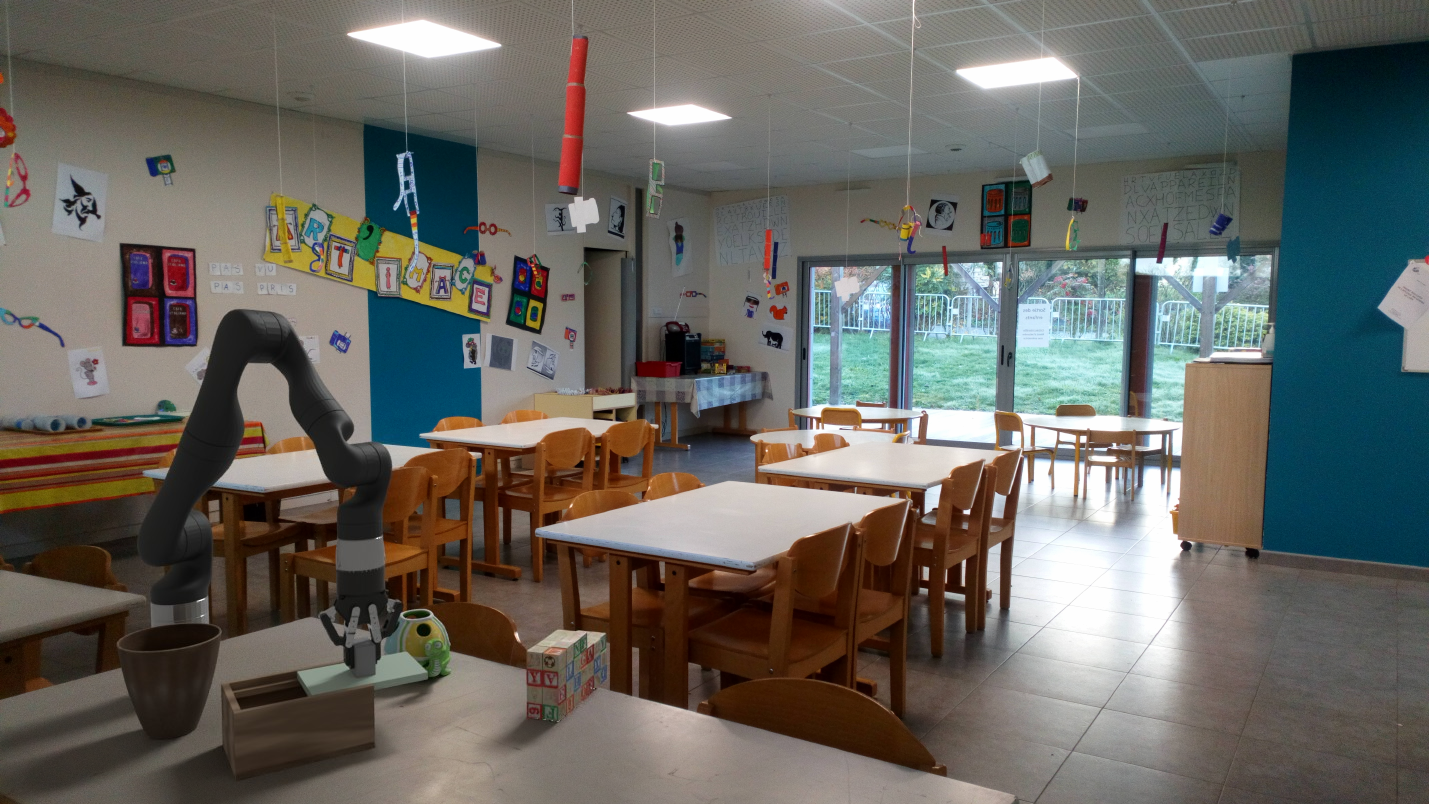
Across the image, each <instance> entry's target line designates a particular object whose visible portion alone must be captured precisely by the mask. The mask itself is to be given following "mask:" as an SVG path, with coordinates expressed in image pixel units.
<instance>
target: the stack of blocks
mask: <svg viewBox="0 0 1429 804" xmlns="http://www.w3.org/2000/svg"><path fill="white" fill-rule="evenodd" d="M607 661H608V649H607V633H606V632H599V631H588V630H586V631H585V630H576V631H575V630H567V629H556V630H555V631H553V632H552V633H550V635H548V636H546V637H545V638H543V639H542V640H541V641H539V642H538V643H536V644H535V645H533V646H532V647H530V648H529V649H528V650H526V669H525V673H526V674H525V675H526V679H525V680H526V682H525V683H526V718H527V717H528V718H527V719H530V718H538V719H546V720H553V721H559V720H561V719H562V718H563V717H564V716H565V715H567V714H568V713H569V712H570V713H571V712H572V711H573V710H575V709H576V708H577V707H578V706H580V705H581V703H582V702H583V701H584V700H586V699H587V697H588V696H589V695H590V694H591V693H592V692H594V691H595V690H596V689H597V688H599V686H601V685H602V684H603V683H604V682H605V681H606V680H607V678H608V672H607V671H608V669H607V668H608V662H607ZM591 687H592V689H591ZM593 688H596V689H593ZM575 707H576V708H575ZM574 708H575V709H574ZM570 713H569V714H570ZM569 714H568V715H569ZM568 715H567V716H568ZM565 717H566V716H565ZM565 717H564V718H565ZM564 718H563V719H564ZM563 719H562V720H563ZM562 720H561V721H562ZM559 722H560V721H559Z"/></svg>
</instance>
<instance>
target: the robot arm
mask: <svg viewBox="0 0 1429 804" xmlns="http://www.w3.org/2000/svg"><path fill="white" fill-rule="evenodd" d="M248 364H271V365H272V366H273V367H274V368H275V369H277V371H278V372H280V373H281V375H282V376H283V377H284V378H285V380H286V381H287V385H288V404H289V408H290V412H291V413H292V416H293V417H294V419H295V421H296V423H298V425H299V427H301V429H302V430H303V432H304V433H305V434H306V435H307V437H308V438H309V439H310V440H311V442H312V443H313V446H314V448H315V451H316V455H317V457H318V459H319V462H320V466H321V469H322V471H323V474H324V476H325V477H326V479H327V480H328V481H329V482H330V483H332V484H333V485H335V486H336V487H338V488H341V489H352V488H355V491H354V494H353V495H352V497H350V498H349V499H347V500H345V501H343V502H342V503H340V504H339V506H338V507H337V510H336V512H337V513H336V532H337V533H336V534H337V535H336V538H337V539H336V548H335V574H336V575H335V576H336V581H335V583H336V586H335V587H336V598H335V600H334V602H333V606H331V607H329V608H328V609H326V610H319V611H318V612H317V617H318V619H319V621H320V623H321V624H322V627H323V628H324V630H325V632H326V634H327V635H328V637H329V640H330V641H331V642H332V643H333V645H334V646H335V647H339V646H341V647H342V652H343V654H342V658H343V661H344V663H345V665H346V666H348V667H349V669H354V668H355V662H354V646H353V642H354V639H355V635H356V634H357V633H356V632H357V628H358V626H361V625H364V624H366V625H367V627H368V632H369V635H370V640H371V641H372V642H373V643H374V644H375V657H376V664H377V661H378V660H380V658H381V656H382V641H383V640H384V639H386V637H390V636H391V635H392V633H393V631H394V629H395V626H396V624H397V621H398V619H399V617H400V614H401V613H402V612H403V609H404V605H405V604H404V603H403V602H402V601H400V600H399V599H398V598H395V599H392V598H389V596H388V595H387V593H386V563H385V562H386V555H385V554H386V553H385V552H386V550H385V543H384V533H383V532H384V530H383V527H384V525H383V524H384V523H383V522H384V521H383V510H384V505H385V504H386V499H387V495H388V490H389V487H390V483H391V479H392V475H393V474H392V473H393V461H392V456H391V454H390V451H389V450H388V448H387V447H386V446H385V445H384V444H383V443H381V442H378V441H365V442H357V443H348V441H349V440H350V439H351V438H352V436H353V434H354V432H355V424H354V422H353V420H352V418H351V417H350V416H349V414H348V413H347V412H346V411H345V409H344V408H343V407H342V406H341V404H340V403H339V401H337V399H336V398H335V397H334V396H333V394H332V393H331V391H330V390H329V389H328V387H327V386H326V385H325V383H324V382H323V379H321V377H320V375H319V373H318V372H317V370H316V367H315V365H314V363H313V362H312V360H311V358H310V356H309V354H308V352H307V350H306V348H305V347H304V345H303V344H302V341H301V340H300V338H299V336H298V334H297V331H296V330H295V328H294V327H293V325H292V324H291V322H290V321H289V319H288V318H287V317H285V316H284V315H282V314H281V313H278V312H275V311H268V310H257V309H247V308H235V309H232V310H229V311H228V312H227V313H226V314H224V316H223V317H222V318H221V321H220V322H219V324H218V326H217V329H216V331H215V335H214V338H213V342H212V345H211V350H210V352H209V358H208V361H207V364H206V368H205V372H204V376H203V380H202V382H201V385H200V388H199V391H198V394H197V396H196V400H195V402H194V406H193V408H192V410H191V412H190V415H189V417H188V419H187V421H186V423H185V426H184V429H183V432H182V434H181V436H180V439H179V441H178V445H177V447H176V451H175V454H174V456H173V458H172V461H171V462H170V463H171V464H170V466H169V468H168V471H167V472H166V476H165V478H164V479H163V482H162V484H161V487H160V488H159V491H158V493H157V495H156V496H155V498H154V500H153V502H152V503H151V506H150V507H149V509H148V511H147V514H146V515H145V517H144V518H143V520H142V523H141V524H140V527H139V529H138V530H139V531H138V533H137V540H136V547H137V553H138V556H139V557H140V559H141V561H142V562H143V563H144V564H145V565H147V566H150V567H153V568H156V567H157V568H161V567H167V566H171V567H170V569H169V570H168V571H167V573H166V574H165V575H164V576H162V577H161V578H160V579H158V581H156V582H155V583H154V584H153V585H152V586H151V588H150V591H149V593H150V595H149V597H150V598H149V599H150V600H149V601H150V619H151V620H150V623H151V626H150V628H151V627H156V626H162V625H168V624H177V623H207V624H210V616H209V615H210V612H209V586H210V585H211V582H212V578H213V560H214V559H213V558H214V557H213V556H214V536H213V535H214V534H213V528H212V525H211V522H210V520H209V519H208V517H207V515H205V513H204V512H202V511H200V510H197V509H194V507H195V505H196V504H197V503H198V501H200V499H201V498H202V497H203V496H204V495H205V494H206V493H207V492H208V491H210V489H211V488H212V487H213V486H214V485H215V484H216V483H217V482H218V481H220V479H221V478H222V477H223V476H224V475H225V473H226V472H227V471H228V470H230V467H232V464H233V463H234V460H235V458H236V456H237V453H238V451H239V449H240V446H241V444H242V442H243V439H244V437H245V436H244V435H245V433H246V432H245V431H246V427H245V426H246V425H245V419H244V414H243V412H242V409H241V405H240V402H239V398H238V391H239V390H238V388H239V385H240V382H241V378H242V376H243V373H244V372H245V369H246V368H247V365H248ZM386 606H387V607H386ZM385 608H386V610H387V615H386V617H385V620H384V622H383V625H382V627H380V620H379V616H380V615H381V613H383V611H384V609H385ZM336 613H337V614H338V615H339V617H341V618H342V619H343V621H344V622H343V626H342V627H343V631H342V632H343V633H342V635H339V633H338V630H337V629H336V628H335V625H334V622H335V620H336V617H335V616H336Z"/></svg>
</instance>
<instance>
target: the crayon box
mask: <svg viewBox="0 0 1429 804" xmlns="http://www.w3.org/2000/svg"><path fill="white" fill-rule="evenodd" d="M341 663H344V661H343V660H338V661H331V662H327V663H322V664H321V663H320V664H316V665H312V666H311V665H310V666H305V667H299V668H294V669H289V670H284V671H283V670H282V671H279V672H277V671H276V672H272V673H266V674H262V675H256V676H251V677H246V678H239V679H234V680H230V681H229V680H228V681H224V682H220V695H221V696H220V699H221V700H220V701H221V732H222V733H221V735H222V739H221V741H222V743H221V744H222V747H223V749H224V752H225V755H226V758H227V760H228V762H229V765H230V769H231V771H232V773H233V775H234V778H235V779H234V780H235V781H240V780H245V779H248V778H253V777H257V776H261V775H266V774H271V773H273V772H279V771H281V770H282V771H283V770H286V769H292V768H295V767H298V766H303V765H308V764H311V763H316V762H319V761H324V760H328V759H331V758H336V757H340V756H344V755H348V754H352V753H357V752H361V751H364V750H365V751H366V750H370V749H373V748H376V735H375V734H376V731H375V720H376V719H375V714H376V713H375V690H374V685H373V684H368V685H363V686H358V687H353V688H348V689H343V690H338V691H333V692H328V693H323V694H318V695H313V696H308V695H307V694H306V692H305V690H304V689H303V687H302V686H301V684H300V682H299V681H298V679H297V672H298V671H303V670H308V669H314V668H319V667H325V666H330V665H336V664H341Z"/></svg>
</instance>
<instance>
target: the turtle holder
mask: <svg viewBox="0 0 1429 804" xmlns="http://www.w3.org/2000/svg"><path fill="white" fill-rule="evenodd" d="M411 616H414V617H415V618H413V619H412V618H408V617H411ZM449 639H450V638H449V635H448V633H447V630H446V627H445V625H444V624H443V622H441V621H440V620H439V619H438V618H437V617H436V616H435V615H434V613H433V612H432V611H431V610H429V609H426V608H418V609H411V610H410V609H409V610H406V611H402V612H401V614H400V617H399V619H398V621H397V624H396V626H395V629H394V631H393V633H392V635H391V636H390V637H386V638H385V642H384V646H383V654H384V656H385V655H390V654H396V653H401V652H408V653H409V654H410V655H411V656H412V657H413V658H414V659H415V660H416V661H417V662H418V663H419V664H420V665H421V666H422V667H423V668H424V669H425V670H426V671H427V672H428V678H434V677H437V676H438V675H439V674H440V676H447V675H450V674H451V672H452V669H451V667H447V665H448V664H449V663H450V661H451V653H450V651H451V650H450V649H451V648H450V647H451V642H450V640H449Z"/></svg>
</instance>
